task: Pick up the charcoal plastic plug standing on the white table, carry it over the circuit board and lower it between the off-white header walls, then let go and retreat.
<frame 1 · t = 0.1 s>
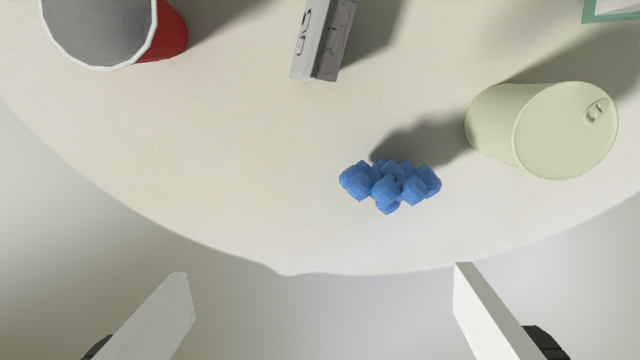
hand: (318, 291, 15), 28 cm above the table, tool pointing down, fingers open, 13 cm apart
can: (500, 121, 40), on the table
electrical switch: (320, 43, 39), on the table
grapes: (381, 174, 42), on the table
plastic cup: (166, 31, 39), on the table
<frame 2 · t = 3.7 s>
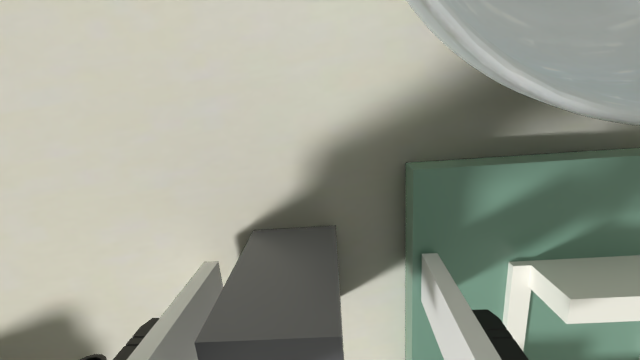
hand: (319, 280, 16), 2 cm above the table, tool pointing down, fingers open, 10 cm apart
plug: (298, 264, 18), on the table
board: (528, 299, 18), on the table
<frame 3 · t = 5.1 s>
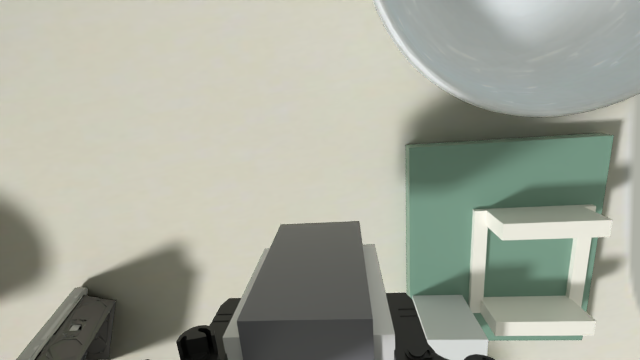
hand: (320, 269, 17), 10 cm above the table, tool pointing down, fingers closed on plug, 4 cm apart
plug: (322, 258, 19), point 8 cm above the table, touching gripper
electrical switch: (104, 324, 32), on the table
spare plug: (436, 315, 27), point 1 cm above the table, touching board
board: (492, 241, 26), on the table
when the fingers open (3 cm above the table, at t = 8.5 s): plug stays where it is, resting on board.
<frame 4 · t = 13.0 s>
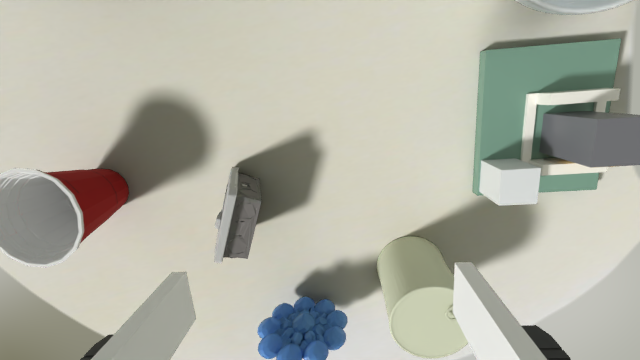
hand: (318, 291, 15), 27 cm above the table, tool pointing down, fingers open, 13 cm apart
can: (409, 265, 45), on the table
plug: (561, 131, 37), point 1 cm above the table, touching board
electrical switch: (246, 199, 43), on the table
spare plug: (497, 175, 39), point 1 cm above the table, touching board
grapes: (307, 304, 47), on the table
board: (536, 121, 38), on the table
plastic cup: (110, 186, 44), on the table
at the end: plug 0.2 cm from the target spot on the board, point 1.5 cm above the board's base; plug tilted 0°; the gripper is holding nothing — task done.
